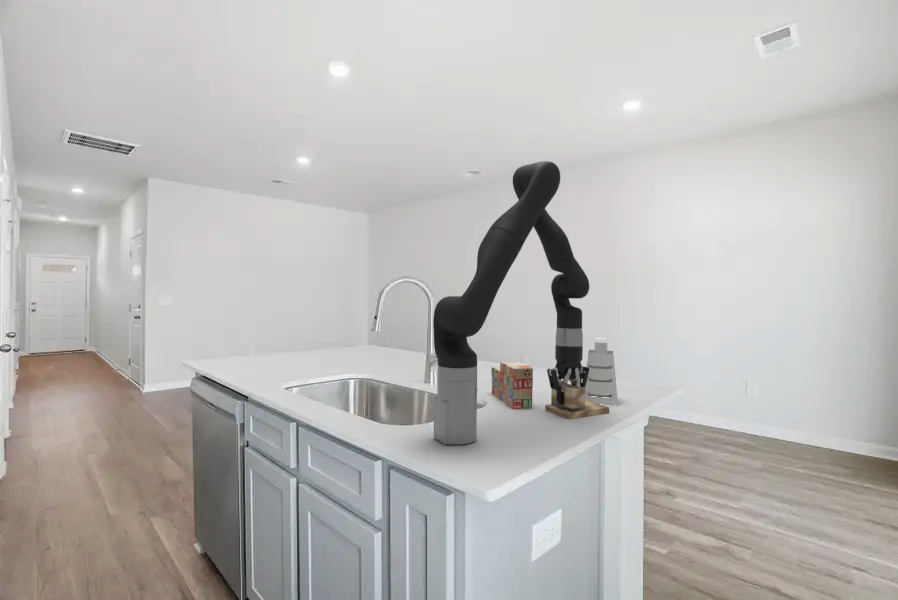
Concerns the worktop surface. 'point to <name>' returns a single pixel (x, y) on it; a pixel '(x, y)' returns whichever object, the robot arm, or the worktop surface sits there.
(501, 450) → the worktop surface
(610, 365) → the grater
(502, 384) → the stack of blocks
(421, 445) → the worktop surface
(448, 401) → the robot arm
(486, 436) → the worktop surface
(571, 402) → the block
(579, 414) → the board
